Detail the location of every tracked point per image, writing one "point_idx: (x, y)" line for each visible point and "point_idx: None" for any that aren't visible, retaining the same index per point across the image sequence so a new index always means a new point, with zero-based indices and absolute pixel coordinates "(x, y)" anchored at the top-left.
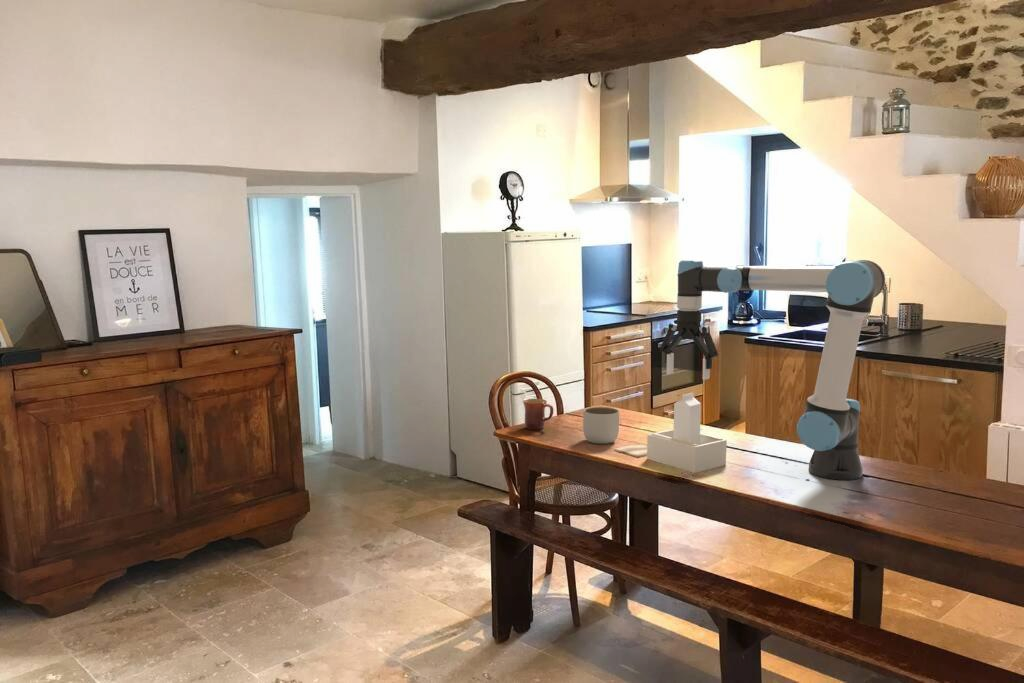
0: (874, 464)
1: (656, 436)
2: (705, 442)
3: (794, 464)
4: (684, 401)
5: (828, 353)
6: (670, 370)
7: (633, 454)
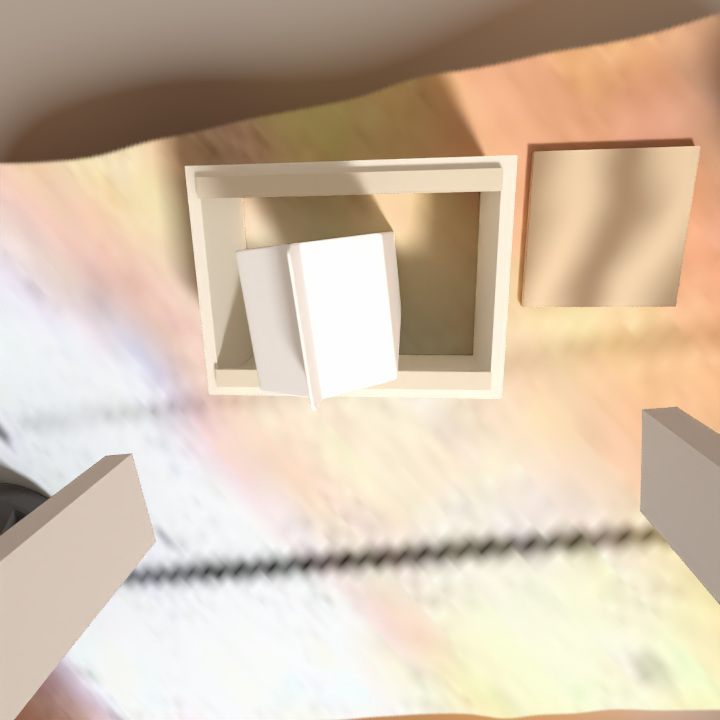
0: (37, 691)
1: (452, 161)
2: None
3: None
4: (277, 246)
5: None
6: (667, 475)
7: (565, 150)
